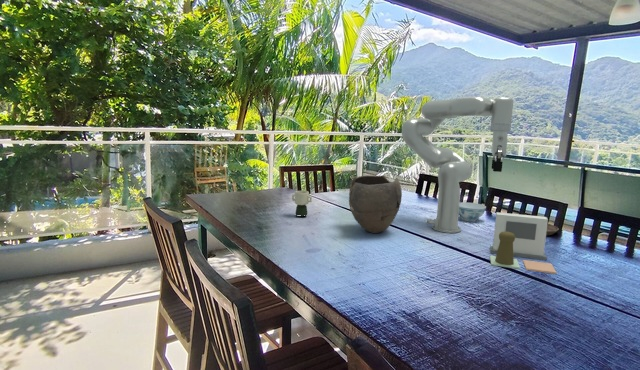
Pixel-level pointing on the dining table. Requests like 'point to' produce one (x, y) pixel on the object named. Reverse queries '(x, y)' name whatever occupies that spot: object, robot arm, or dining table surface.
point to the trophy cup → (301, 202)
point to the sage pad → (515, 265)
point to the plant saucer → (551, 229)
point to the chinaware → (471, 211)
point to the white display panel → (522, 234)
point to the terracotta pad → (539, 266)
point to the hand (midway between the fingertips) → (496, 170)
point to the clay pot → (374, 202)
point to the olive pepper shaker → (505, 248)
